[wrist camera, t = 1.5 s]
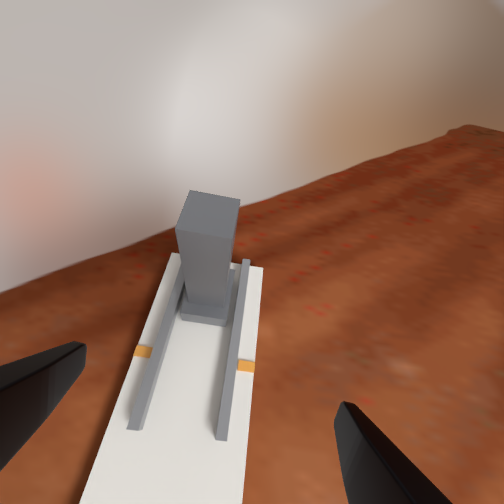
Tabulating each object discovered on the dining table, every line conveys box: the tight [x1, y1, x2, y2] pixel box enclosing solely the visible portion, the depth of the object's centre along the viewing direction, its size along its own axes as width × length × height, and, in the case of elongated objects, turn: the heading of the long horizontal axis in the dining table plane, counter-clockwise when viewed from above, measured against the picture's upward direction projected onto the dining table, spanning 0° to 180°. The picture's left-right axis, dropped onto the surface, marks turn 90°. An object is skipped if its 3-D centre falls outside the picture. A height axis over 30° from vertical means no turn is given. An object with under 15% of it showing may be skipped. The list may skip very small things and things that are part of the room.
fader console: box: [79, 253, 263, 504], centre depth 19 cm, size 22×10×3 cm, turn 174°
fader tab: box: [175, 190, 240, 327], centre depth 18 cm, size 5×4×12 cm
